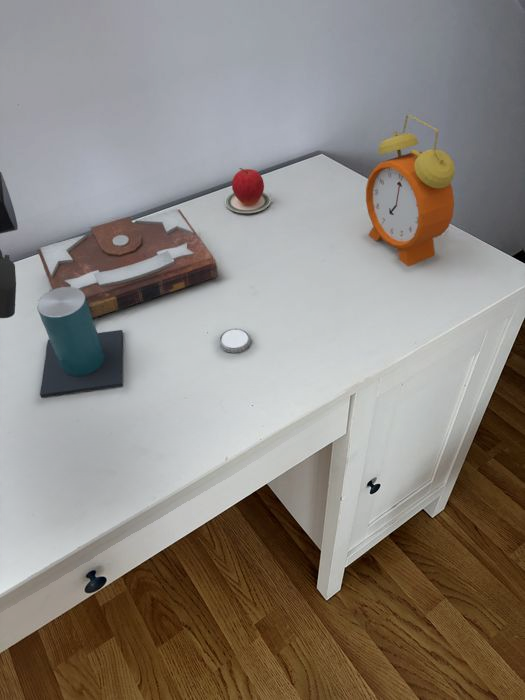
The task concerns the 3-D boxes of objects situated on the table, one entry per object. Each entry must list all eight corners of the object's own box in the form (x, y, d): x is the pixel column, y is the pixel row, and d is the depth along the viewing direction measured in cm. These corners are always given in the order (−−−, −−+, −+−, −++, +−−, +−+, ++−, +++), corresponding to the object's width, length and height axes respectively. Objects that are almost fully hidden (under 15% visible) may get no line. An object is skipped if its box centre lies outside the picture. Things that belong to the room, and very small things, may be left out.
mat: (41, 397, 70) (39, 394, 70) (48, 342, 77) (47, 339, 77) (122, 386, 71) (121, 383, 71) (122, 332, 78) (122, 329, 78)
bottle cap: (251, 351, 75) (250, 347, 74) (220, 353, 74) (220, 350, 74) (248, 330, 77) (248, 327, 77) (219, 333, 77) (219, 329, 77)
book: (69, 333, 79) (60, 307, 76) (43, 267, 88) (33, 242, 84) (218, 282, 86) (216, 257, 83) (180, 226, 95) (177, 201, 92)
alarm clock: (359, 231, 94) (372, 110, 80) (388, 220, 96) (406, 101, 82) (412, 273, 86) (437, 146, 71) (442, 260, 88) (473, 134, 73)
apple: (221, 195, 103) (218, 162, 99) (264, 189, 105) (263, 156, 100) (230, 218, 98) (227, 184, 93) (275, 211, 99) (274, 177, 94)
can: (59, 379, 71) (34, 320, 64) (62, 348, 75) (39, 289, 68) (103, 372, 72) (84, 313, 65) (105, 342, 76) (86, 283, 69)
